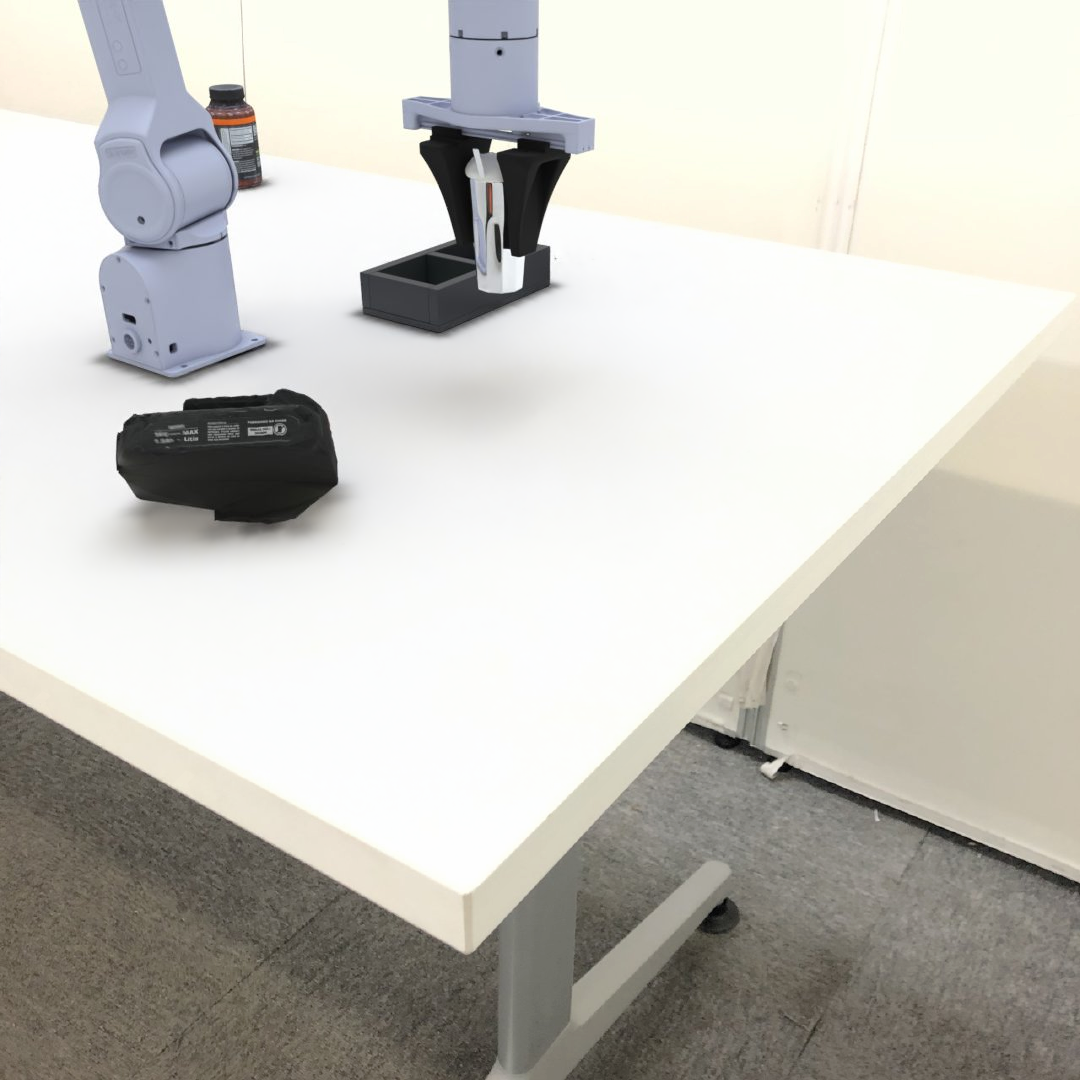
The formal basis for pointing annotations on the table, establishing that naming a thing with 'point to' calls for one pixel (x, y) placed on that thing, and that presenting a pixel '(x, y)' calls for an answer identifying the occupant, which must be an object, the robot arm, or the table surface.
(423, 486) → the table surface
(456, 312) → the dark grey divided tray
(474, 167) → the milkshake
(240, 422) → the battery
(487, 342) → the table surface
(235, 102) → the supplement bottle
